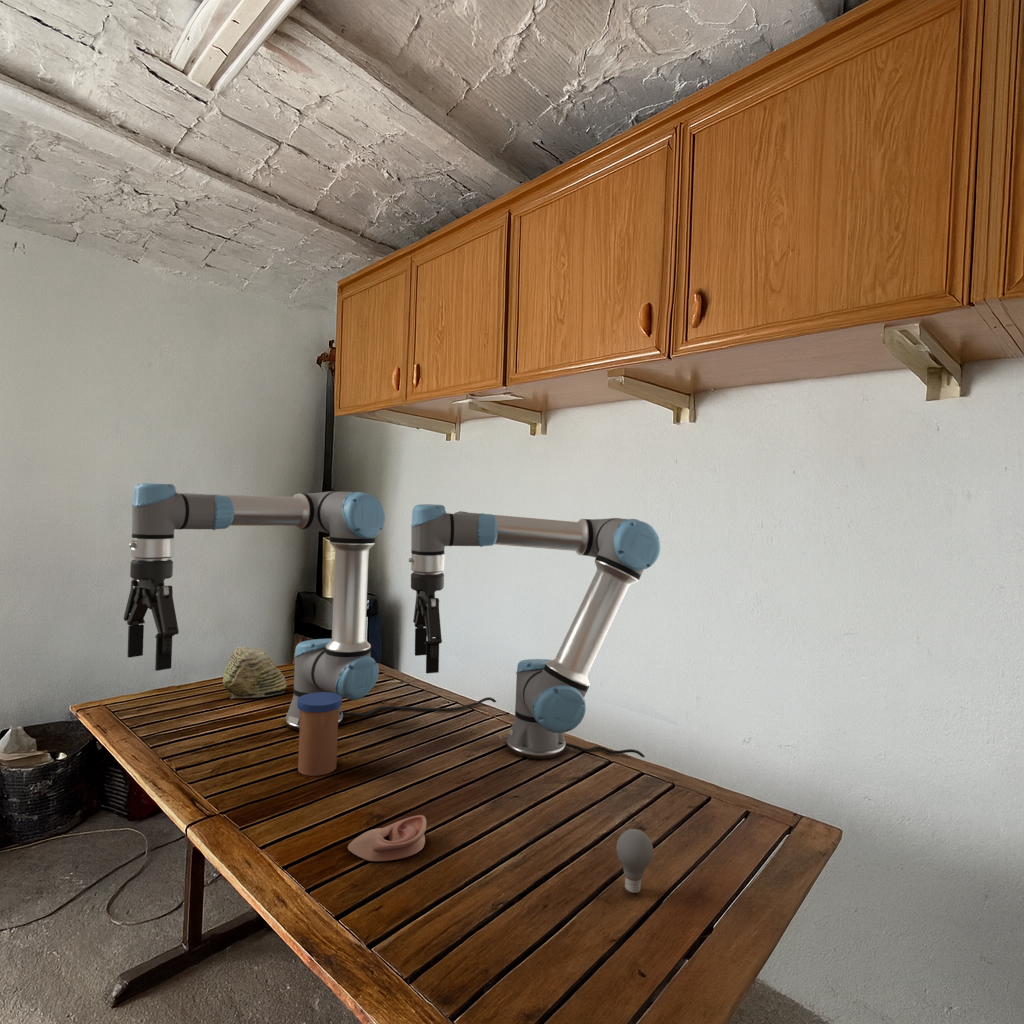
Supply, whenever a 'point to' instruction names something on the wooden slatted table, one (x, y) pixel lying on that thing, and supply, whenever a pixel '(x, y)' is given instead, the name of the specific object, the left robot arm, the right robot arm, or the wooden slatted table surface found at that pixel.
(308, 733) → the jar
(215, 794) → the wooden slatted table surface
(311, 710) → the lid
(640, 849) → the light bulb
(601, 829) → the wooden slatted table surface
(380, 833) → the anatomical model
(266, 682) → the fossil
